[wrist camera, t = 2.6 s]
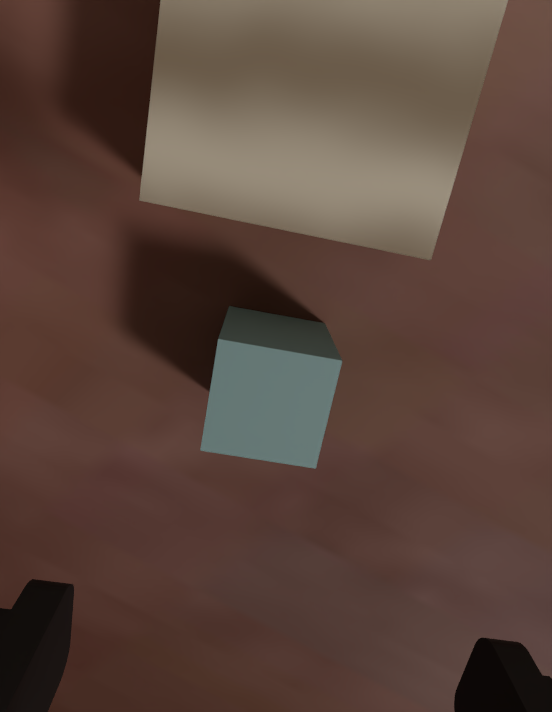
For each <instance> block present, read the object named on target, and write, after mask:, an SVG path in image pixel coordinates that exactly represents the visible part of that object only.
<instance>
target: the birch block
mask: <svg viewBox="0 0 552 712" xmlns="http://www.w3.org/2000/svg"><path fill="white" fill-rule="evenodd" d="M507 2H508V0H161V1H160V10H159V20H158V29H157V38H156V48H155V57H154V67H153V76H152V86H151V95H150V104H149V114H148V123H147V133H146V142H145V152H144V161H143V170H142V180H141V189H140V199H139V200H140V201H145V202H150V203H155V204H160V205H164V206H169V207H174V208H179V209H184V210H189V211H194V212H198V213H203V214H208V215H213V216H218V217H223V218H228V219H233V220H237V221H242V222H247V223H252V224H257V225H262V226H267V227H271V228H276V229H281V230H286V231H291V232H296V233H301V234H306V235H310V236H315V237H320V238H325V239H330V240H335V241H340V242H344V243H349V244H354V245H359V246H364V247H369V248H374V249H379V250H383V251H388V252H393V253H398V254H403V255H408V256H413V257H417V258H422V259H427V260H431V258H432V254H433V251H434V248H435V244H436V241H437V237H438V234H439V231H440V227H441V224H442V221H443V217H444V214H445V211H446V207H447V204H448V200H449V197H450V194H451V190H452V187H453V184H454V180H455V177H456V174H457V170H458V167H459V163H460V160H461V157H462V153H463V150H464V147H465V143H466V140H467V137H468V133H469V130H470V126H471V123H472V120H473V116H474V113H475V110H476V106H477V103H478V100H479V96H480V93H481V89H482V86H483V83H484V79H485V76H486V73H487V69H488V66H489V63H490V59H491V56H492V52H493V49H494V46H495V42H496V39H497V36H498V32H499V29H500V26H501V22H502V19H503V15H504V12H505V9H506V5H507Z"/></svg>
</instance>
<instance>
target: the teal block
mask: <svg viewBox="0 0 552 712" xmlns="http://www.w3.org/2000/svg"><path fill="white" fill-rule="evenodd" d="M341 364H342V359H341V357H340V355H339V353H338V351H337V348H336V346H335V344H334V342H333V340H332V338H331V335H330V333H329V331H328V329H327V327H326V325H325V323H321V322H315V321H310V320H304V319H299V318H293V317H287V316H282V315H276V314H271V313H265V312H260V311H254V310H249V309H243V308H238V307H232V306H229V308H228V311H227V314H226V317H225V320H224V323H223V326H222V329H221V332H220V335H219V338H218V343H217V349H216V356H215V362H214V368H213V374H212V381H211V387H210V393H209V400H208V406H207V412H206V418H205V425H204V431H203V437H202V444H201V451H207V452H213V453H220V454H226V455H233V456H239V457H245V458H252V459H258V460H265V461H271V462H277V463H284V464H290V465H296V466H303V467H309V468H316V465H317V461H318V457H319V453H320V449H321V445H322V441H323V437H324V433H325V429H326V425H327V421H328V416H329V412H330V408H331V404H332V400H333V396H334V392H335V388H336V384H337V380H338V376H339V372H340V368H341Z"/></svg>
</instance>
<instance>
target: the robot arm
mask: <svg viewBox="0 0 552 712" xmlns="http://www.w3.org/2000/svg"><path fill="white" fill-rule="evenodd" d="M73 598H74V586H73V584H66V583H59V582H51V581H43V580H35V579H32V580H30V581H29V582H28V584H27V585H26V586H25V588H24V589H23V591H22V593H21V594H20V596H19V598H18V599H17V601H16V603H15V604H14V606H13V607H12V609H2V608H0V712H48V710H49V707H50V705H51V702H52V700H53V698H54V695H55V693H56V691H57V688H58V686H59V683H60V681H61V678H62V675H63V672H64V669H65V665H66V662H67V658H68V653H69V648H70V639H71V625H72V611H73ZM454 709H455V712H552V679H551V678H550V677H549V676H542V674H541V672H540V671H539V669H538V667H537V666H536V664H535V662H534V660H533V659H532V657H531V655H530V654H529V652H528V650H527V649H526V648H525V647H524V646H523V645H522V644H521V643H519V642H513V641H505V640H497V639H489V638H480V639H478V641H477V642H476V644H475V646H474V648H473V651H472V653H471V655H470V658H469V660H468V663H467V665H466V668H465V670H464V672H463V675H462V677H461V680H460V682H459V685H458V687H457V690H456V693H455V700H454Z"/></svg>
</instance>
